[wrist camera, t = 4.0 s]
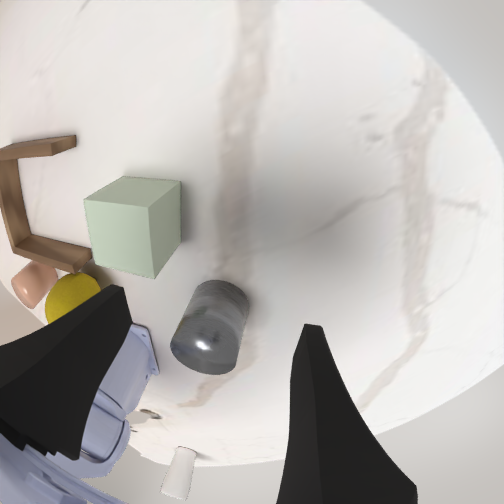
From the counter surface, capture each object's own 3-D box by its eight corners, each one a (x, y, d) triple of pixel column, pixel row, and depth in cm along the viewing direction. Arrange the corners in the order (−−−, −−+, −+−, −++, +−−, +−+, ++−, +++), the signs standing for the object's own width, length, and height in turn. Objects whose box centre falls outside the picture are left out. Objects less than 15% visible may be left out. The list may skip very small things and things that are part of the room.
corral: (92, 257, 23) (75, 274, 21) (28, 240, 24) (13, 252, 22) (75, 135, 17) (50, 143, 14) (11, 144, 18) (-9, 152, 15)
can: (246, 327, 25) (233, 379, 20) (194, 316, 25) (173, 365, 20) (252, 286, 22) (238, 342, 17) (193, 275, 22) (166, 325, 17)
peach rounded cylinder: (61, 287, 27) (39, 313, 23) (41, 280, 27) (19, 302, 23) (52, 258, 25) (25, 283, 21) (32, 252, 25) (7, 274, 21)
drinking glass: (197, 455, 56) (185, 500, 43) (173, 448, 56) (159, 492, 43) (201, 451, 52) (187, 500, 40) (175, 443, 52) (159, 491, 40)
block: (181, 241, 21) (154, 279, 17) (128, 232, 21) (95, 264, 17) (181, 181, 18) (148, 207, 14) (123, 176, 19) (83, 199, 14)
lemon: (109, 263, 23) (61, 318, 17) (120, 305, 26) (83, 360, 20) (71, 253, 24) (23, 299, 17) (82, 293, 27) (45, 340, 20)
